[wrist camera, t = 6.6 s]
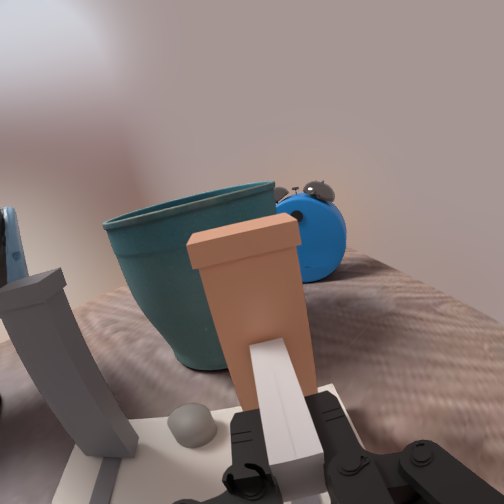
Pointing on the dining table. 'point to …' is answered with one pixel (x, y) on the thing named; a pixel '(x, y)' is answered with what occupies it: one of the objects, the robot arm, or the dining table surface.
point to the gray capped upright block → (64, 365)
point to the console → (164, 462)
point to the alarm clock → (315, 228)
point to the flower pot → (181, 263)
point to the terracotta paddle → (256, 296)
